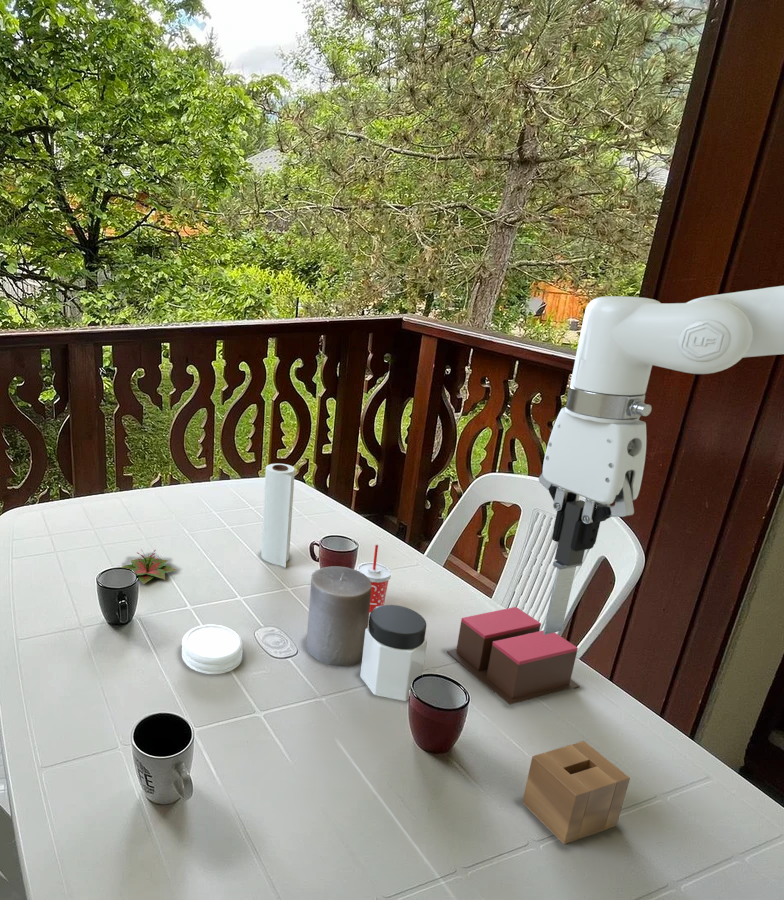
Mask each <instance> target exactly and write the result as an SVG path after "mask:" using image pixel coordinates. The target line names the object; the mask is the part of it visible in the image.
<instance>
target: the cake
mask: <svg viewBox="0 0 784 900" xmlns="http://www.w3.org/2000/svg"><path fill="white" fill-rule="evenodd" d="M460 620H461V621H460V626H459V632H458V638H457V644H456V648H455V649H454V648H453V649H449V650H446V653H447V654H448V655H449V656H450V657H452V658H453V660H455V661H456V662H458V664H460V665H461V666H462V667H463V668H464V669H466V671H468V672H469V673H470V674H471V675H472V676H474V677H475V678H476V679H478V680H479V682H481V683H482V684H483V686H485V687H486V688H488V689H489V690H491V692H492V693H494V694H496V695H497V696H499V698H501V699H502V701H504V702H505V703H507V704H508V705H513V704H514V705H515V704H517V703H522V702H525V701H530V700H534V699H537V698H541V697H544V696H548V695H552V694H556V693H560V692H564V691H569V690H571V689H574V690H575V689H579V688H580V687H581V686H580V685H579V684H578V683H577V682H575V680H572V675H573V671H574V666H575V663H576V658H577V653H578V651H579V647H577V646H576V645H574V644H573V643H571V641H568V640H567V639H565V638H564V637H563V636H560V635H559V634H558V633H557V632H555V633H550V634H546V635H544V634H543V632H544V629H543V630H541V625H542V623H541V622H539V621H538V619H537V620H536V619H535V618H534V617H532V616H531V615H529V614H528V613H526V612H525V611H524V610H522V609H520V608H519V607H517V606H513V607H508V608H503V609H497V610H494V611H488V612H484V613H479V614H473V615H469V616H464V617H461V619H460Z"/></svg>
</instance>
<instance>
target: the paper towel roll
mask: <svg viewBox="0 0 784 900" xmlns="http://www.w3.org/2000/svg"><path fill="white" fill-rule="evenodd" d="M295 469H296V468H295V467H294V466H293V465H290V464H286V463H270V464H267V465H266V466H265V471H264V472H265V476H264V495H263V511H262V512H263V513H262V532H261V534H262V535H261V551H260V552H261V553H260V554H261V556H260V557H261V559H262V560H263V561H265V562H267V563H270V564H271V565H272V564H273V565H276V566H280V567H283V568H287V562H288V561H289V560H290V548H291V536H292V535H291V534H292V518H293V504H294V488H295V473H296V470H295Z"/></svg>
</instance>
